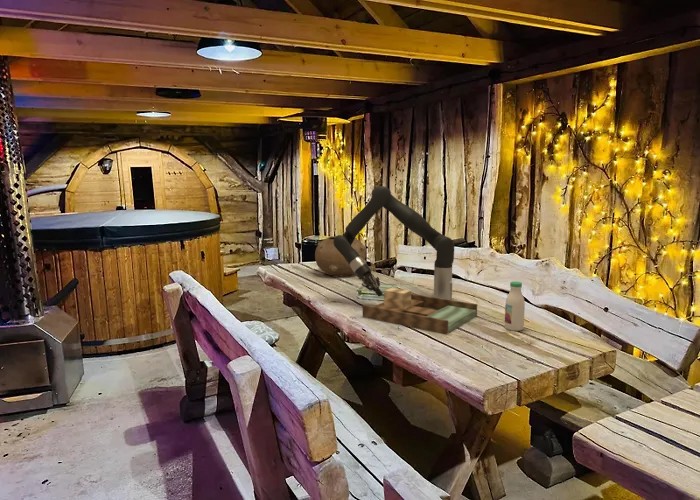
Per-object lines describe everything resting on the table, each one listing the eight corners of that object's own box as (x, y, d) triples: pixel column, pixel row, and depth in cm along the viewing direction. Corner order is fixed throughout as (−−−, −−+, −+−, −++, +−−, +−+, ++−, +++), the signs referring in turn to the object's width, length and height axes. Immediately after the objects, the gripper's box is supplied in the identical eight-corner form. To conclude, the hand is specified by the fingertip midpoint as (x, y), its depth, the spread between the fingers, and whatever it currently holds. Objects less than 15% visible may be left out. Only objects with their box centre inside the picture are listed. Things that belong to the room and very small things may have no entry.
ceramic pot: (308, 272, 323) (307, 236, 319) (352, 268, 337) (352, 233, 333) (326, 281, 293) (326, 241, 289) (374, 276, 307) (374, 238, 303)
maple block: (384, 305, 226) (384, 290, 225) (391, 302, 231) (391, 287, 230) (404, 309, 219) (404, 293, 218) (411, 306, 224) (411, 290, 223)
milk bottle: (523, 326, 203) (525, 281, 200) (523, 332, 195) (526, 284, 192) (504, 324, 205) (506, 279, 202) (504, 330, 198) (506, 283, 195)
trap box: (362, 316, 218) (362, 305, 217) (398, 302, 244) (398, 291, 243) (446, 334, 193) (447, 321, 192) (476, 315, 219) (477, 304, 218)
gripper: (356, 265, 228) (378, 293, 223) (372, 261, 239) (392, 288, 233) (348, 274, 232) (368, 302, 227) (363, 270, 243) (383, 297, 237)
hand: (380, 295), depth 230 cm, fingers closed
